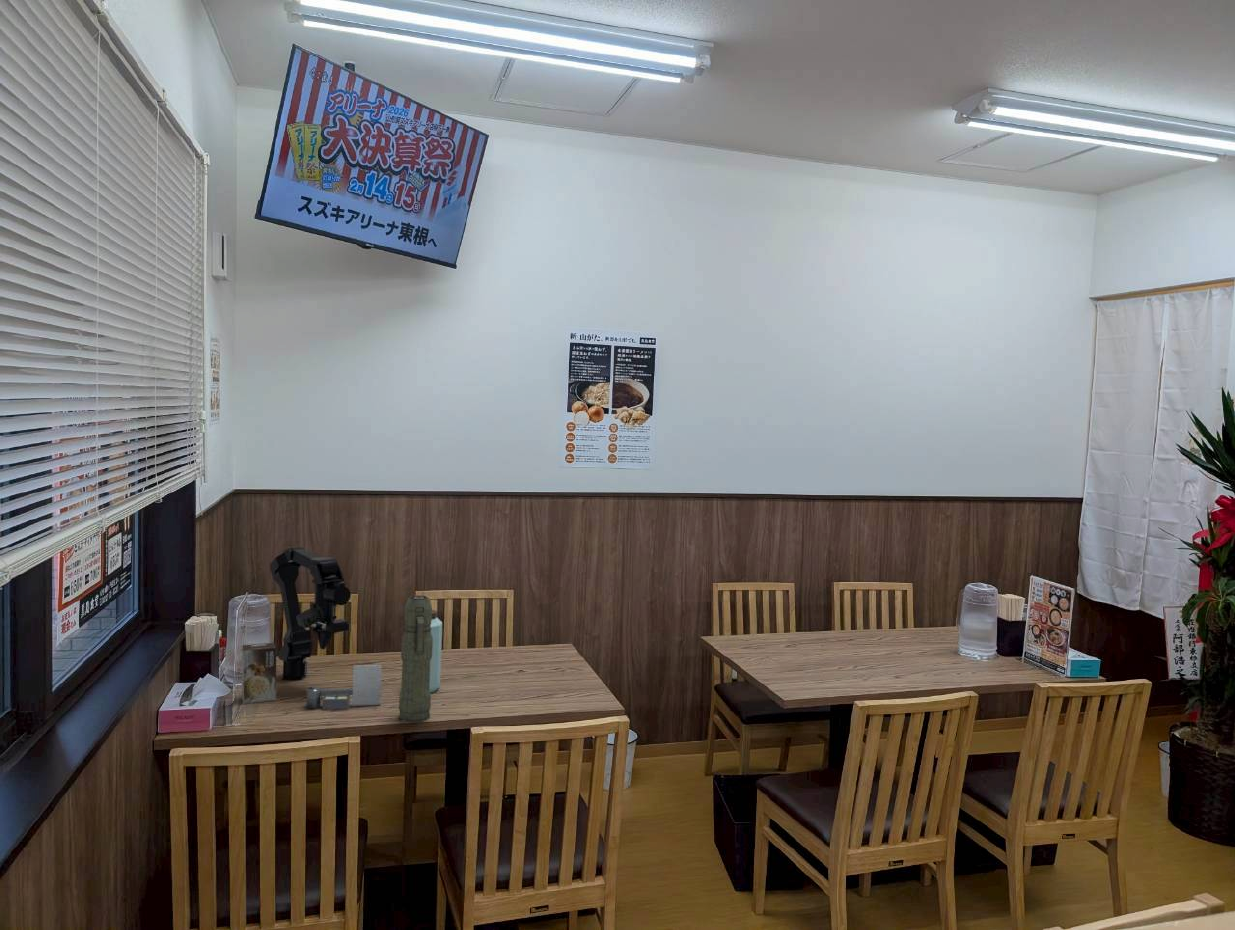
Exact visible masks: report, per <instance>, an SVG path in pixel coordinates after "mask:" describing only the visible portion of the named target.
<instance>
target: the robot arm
mask: <svg viewBox="0 0 1235 930" xmlns="http://www.w3.org/2000/svg"><path fill="white" fill-rule="evenodd" d="M301 567H304V568H306V569H308V570H309V574H310V575H311V576H312V577H313V578H314V579H312V580H311V583H312V584H314V601H313V602H311V604H310V608H308V609H306V610H303V611H302V612H301V606H300V601H299V600H300V599H299V595H298V589H297V584H296V583H297V581H298V578H299V576H300V568H301ZM269 570H270V573H271V575H272V579H273V581H275V583H276V584H277V585H278V586H279V589H280V596H281V601H282V607H283V612H284V613H283V614H284V619H285V624H286V632H285V634H284V635H283V636H284V637H283V645H282V646H281V648H280V650H279V651H278V653H277V654H278V659H279V660H280V661H282V663H283V664H282V665H283V666H282V667H283V668H282V676H281V678H280V679H281V680H289V681H290V680H293V681H294V680H297V681H299V680H301V681H302V680H303V679H304V678H305V677H306V675H308V661H306V660H307V658H311V655H312V651H313V647H314V643H313V639H312V632H311V631H313V632H314V633H315V635H316V638H317V642H318V645H319V648H320V650H325V649H326V648H327V646H328V644H329V642H330V640H331V638H332V637H333V635H334V634H336V633H341V632H346V631H349V630H350V628H351V627H350V626H351V623H350V622H349V621H348V620H346V619H341V618H339V619H338V618H337V615H335V614H334V613H335V611H334V609H335V607H337V606H344V605H346V604H348V603H349V601H350V599H351V596H352V593H351V590H350V589H349V588H348V587H347V586H346V583H345V580H344V574H343V572H342V568H341V567H340V564H339V562H338V560H336V558H334V557H322V556H318V555H316V554H315V553H313V552H311V551H308V550H306V549H304V547H302V546H297V547H295V546H294V547H288V548H287V549H285V551H284V552H282V553H281V554H279V555H277V556H275V557H274V558H273V560H272V561H271V563H270V564H269ZM307 628H309V629H307ZM310 629H311V631H310Z"/></svg>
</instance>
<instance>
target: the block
mask: <svg viewBox="0 0 1235 930" xmlns="http://www.w3.org/2000/svg"><path fill="white" fill-rule="evenodd" d="M350 704H351V695H333V696H323V699H322V710H323V711H329V710H330V711H335V710H336V711H337V710H339V711H340V710H342V711H343V710H344V711H345V710H349V708H350Z"/></svg>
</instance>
